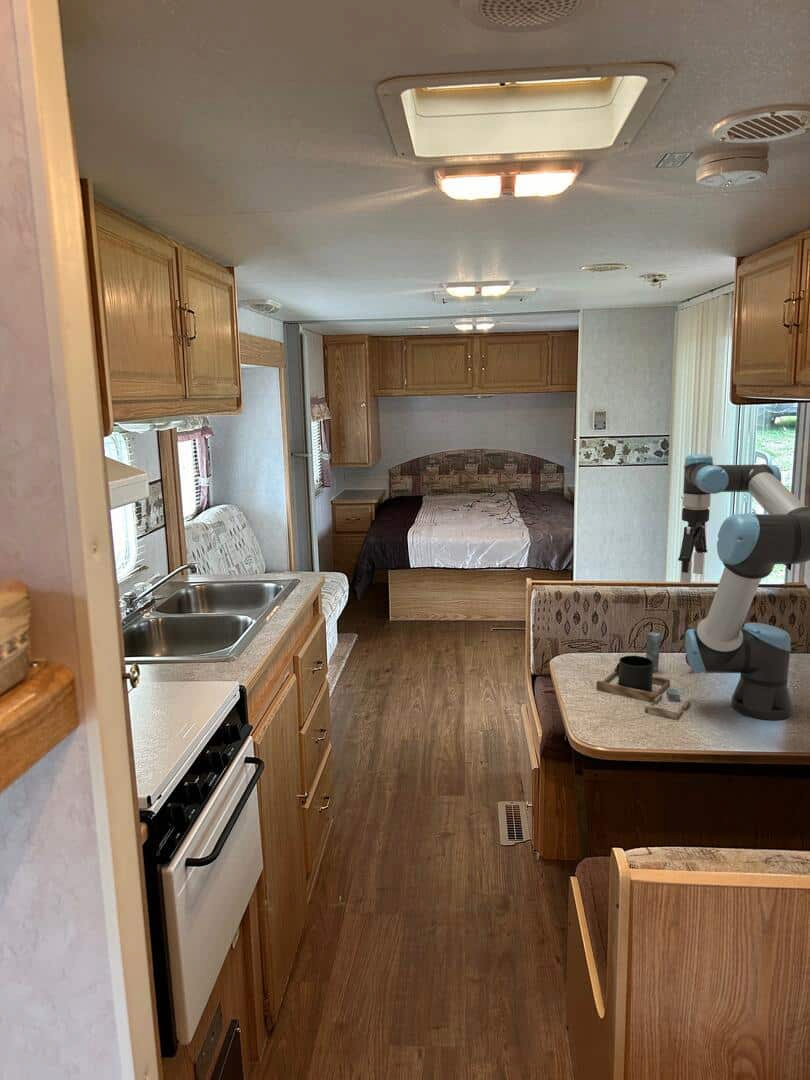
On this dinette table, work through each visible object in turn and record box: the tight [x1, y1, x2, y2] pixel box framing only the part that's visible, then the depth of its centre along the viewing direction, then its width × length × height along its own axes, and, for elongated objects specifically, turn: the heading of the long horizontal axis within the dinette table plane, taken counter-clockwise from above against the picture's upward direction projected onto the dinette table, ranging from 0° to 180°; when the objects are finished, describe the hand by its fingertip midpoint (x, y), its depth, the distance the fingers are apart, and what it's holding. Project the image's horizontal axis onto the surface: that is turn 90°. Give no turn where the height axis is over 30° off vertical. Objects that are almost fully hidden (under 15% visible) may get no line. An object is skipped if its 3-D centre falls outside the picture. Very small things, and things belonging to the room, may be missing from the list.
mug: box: [615, 655, 654, 692], centre depth 225 cm, size 9×12×9 cm
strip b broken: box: [644, 687, 691, 721], centre depth 214 cm, size 9×17×2 cm, turn 144°
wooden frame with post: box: [595, 631, 671, 703], centre depth 230 cm, size 17×26×12 cm, turn 144°
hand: (691, 578), depth 230 cm, fingers open, 13 cm apart
